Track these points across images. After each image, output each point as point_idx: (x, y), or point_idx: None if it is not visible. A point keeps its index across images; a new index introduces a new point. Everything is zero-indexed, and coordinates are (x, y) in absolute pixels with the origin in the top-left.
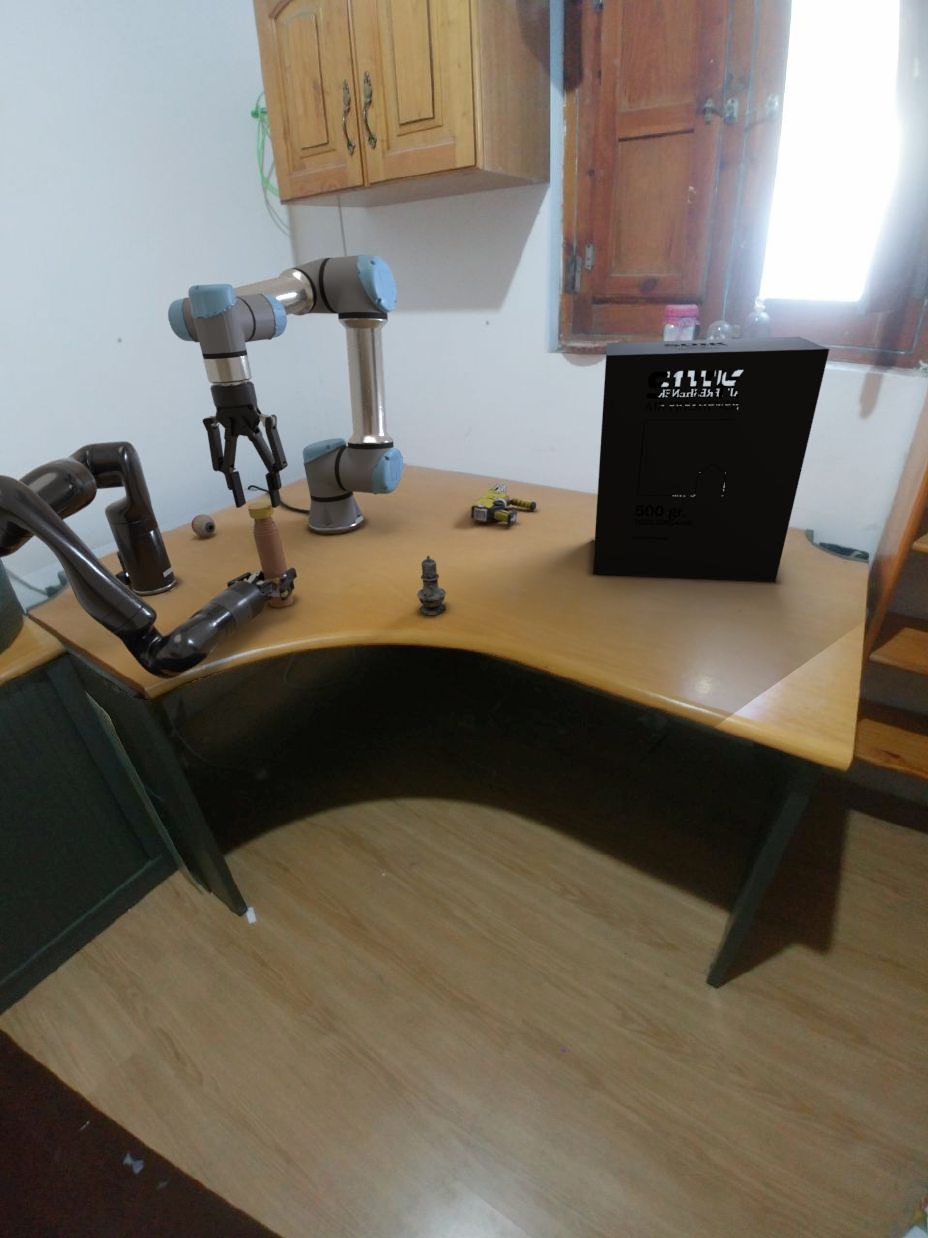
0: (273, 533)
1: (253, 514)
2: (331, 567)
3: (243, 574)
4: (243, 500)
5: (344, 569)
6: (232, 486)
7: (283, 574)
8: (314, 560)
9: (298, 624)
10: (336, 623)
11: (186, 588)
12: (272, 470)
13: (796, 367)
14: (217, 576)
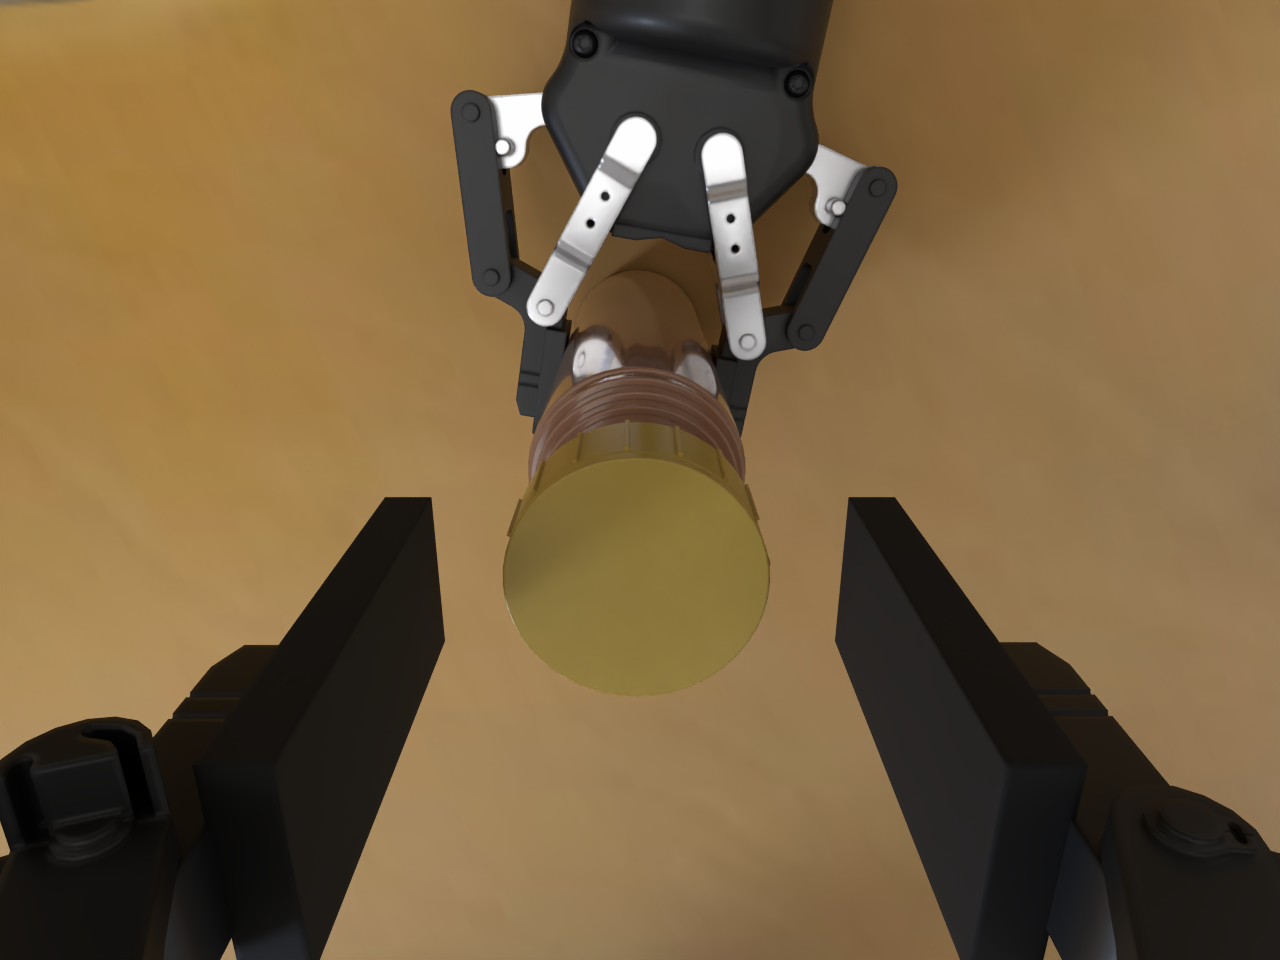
0: (540, 421)
1: (672, 441)
2: (532, 700)
3: (830, 315)
4: (849, 628)
5: (455, 682)
6: (971, 633)
7: (559, 330)
8: (651, 765)
9: (439, 88)
10: (233, 112)
11: (1236, 457)
12: (53, 842)
13: None
14: (1107, 590)
